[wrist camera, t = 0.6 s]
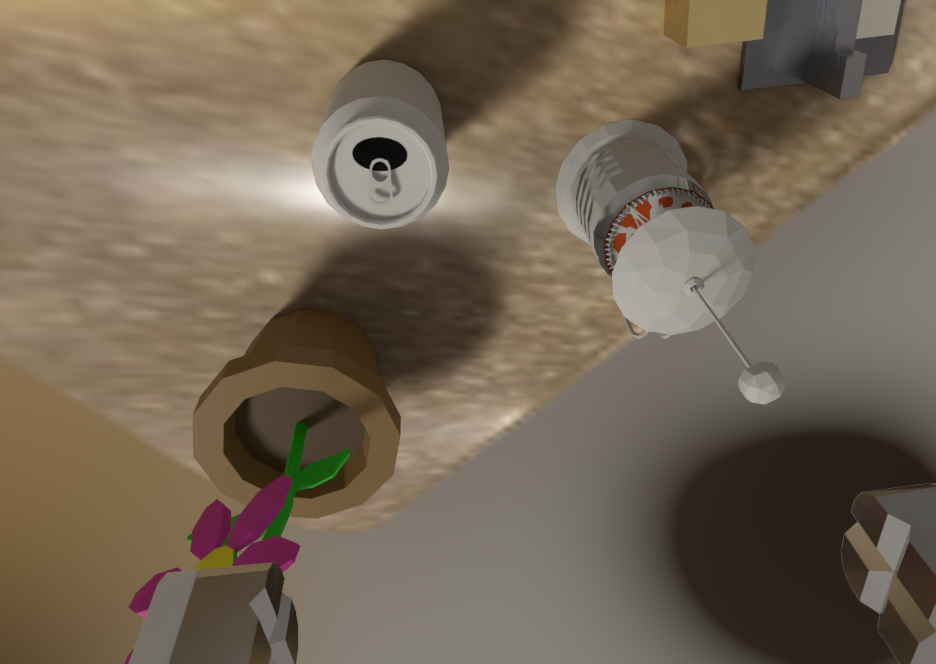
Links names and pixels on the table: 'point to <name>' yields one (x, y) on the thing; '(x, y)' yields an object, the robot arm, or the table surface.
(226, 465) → the flowerpot
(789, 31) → the rail
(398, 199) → the can
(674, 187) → the french press
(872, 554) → the robot arm
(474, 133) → the table surface
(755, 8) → the clip
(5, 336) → the table surface
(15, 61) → the table surface
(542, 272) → the table surface
